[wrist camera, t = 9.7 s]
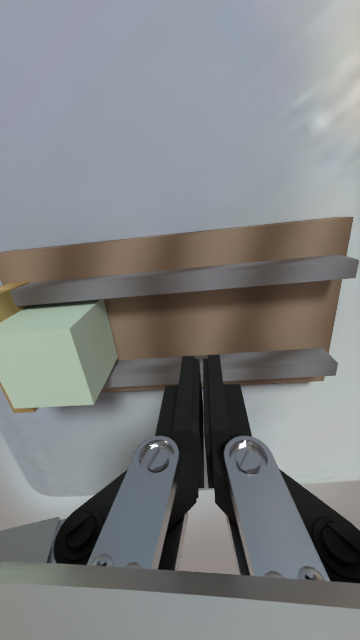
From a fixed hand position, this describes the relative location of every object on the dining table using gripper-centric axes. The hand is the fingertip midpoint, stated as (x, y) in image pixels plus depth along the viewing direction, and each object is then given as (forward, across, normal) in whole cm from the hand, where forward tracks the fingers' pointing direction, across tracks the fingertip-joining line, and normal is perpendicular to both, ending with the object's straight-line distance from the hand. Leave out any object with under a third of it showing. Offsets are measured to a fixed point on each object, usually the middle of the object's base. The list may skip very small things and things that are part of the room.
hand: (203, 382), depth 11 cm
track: (+8, +2, 0) cm, 9 cm away
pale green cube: (+6, +9, 0) cm, 11 cm away
